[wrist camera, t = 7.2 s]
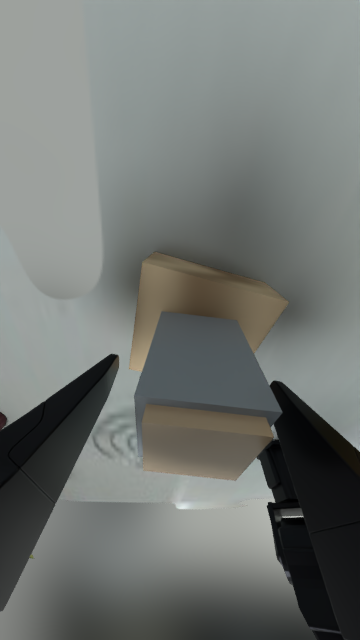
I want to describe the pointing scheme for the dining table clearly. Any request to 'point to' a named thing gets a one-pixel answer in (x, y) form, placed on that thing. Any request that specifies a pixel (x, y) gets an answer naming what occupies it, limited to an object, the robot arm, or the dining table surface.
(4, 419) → the vegetable
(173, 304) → the block
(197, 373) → the grey box
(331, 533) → the robot arm
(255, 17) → the dining table surface
